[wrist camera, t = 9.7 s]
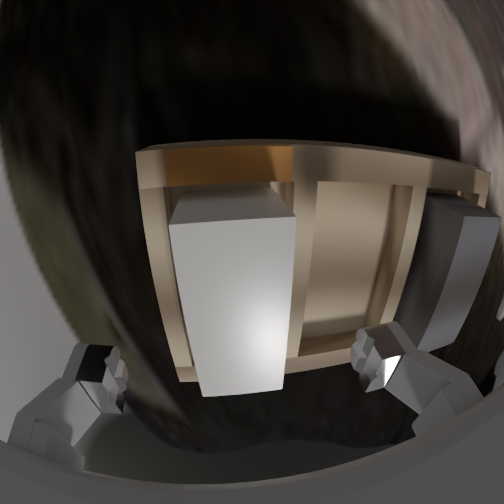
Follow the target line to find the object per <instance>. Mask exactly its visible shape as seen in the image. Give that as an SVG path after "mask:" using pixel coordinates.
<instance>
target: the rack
mask: <svg viewBox="0 0 504 504" xmlns="http://www.w3.org/2000/svg"><path fill="white" fill-rule="evenodd" d="M136 165H137V175H138V185H139V193H140V202H141V209H142V216H143V223H144V230H145V236H146V242H147V248H148V254H149V259H150V265H151V270H152V275H153V280H154V285H155V289H156V294H157V298H158V303H159V307H160V311H161V316H162V320H163V324H164V328H165V332H166V335H167V339H168V343H169V346H170V350H171V354H172V357H173V361H174V364H175V367H176V371H177V374H178V377H179V380H180V382H191V381H199V380H198V376H197V372H196V368H195V364H194V360H193V355H192V351H191V347H190V342H189V338H188V333H187V329H186V324H185V319H184V314H183V309H182V304H181V299H180V294H179V288H178V283H177V277H176V271H175V265H174V259H173V252H172V246H171V239H170V232H169V223H170V220H171V218H172V215H173V213H174V210H175V208H176V205H177V203H178V200H179V198H180V196H181V193H183V192H195V191H208V190H223V189H241V188H264V187H272V188H273V189H274V191H275V192H276V193H277V194H278V195H279V196H280V198H281V199H282V200H283V201H284V202H285V204H286V205H287V206H288V207H289V208H290V210H291V211H292V212H293V213H294V214H295V216H296V236H295V253H294V268H293V282H292V295H291V308H290V319H289V330H288V340H287V350H286V360H285V369H284V374H286V373H293V372H299V371H305V370H311V369H317V368H323V367H328V366H333V365H338V364H343V363H348V362H351V359H350V351H351V348H352V345H353V344H354V343H355V342H356V341H357V339H356V337H355V336H356V333H357V331H358V330H359V329H360V328H364V327H369V326H374V325H378V324H384V323H388V322H393V321H396V322H398V323H399V325H400V326H401V327H402V329H403V330H404V331H405V333H406V334H407V336H408V337H409V338H410V340H411V341H412V343H413V344H414V345H415V347H416V348H417V350H423V351H425V352H429V351H432V350H435V349H437V348H440V347H443V346H445V345H448V344H450V343H453V342H454V340H455V338H456V337H457V335H458V333H459V331H460V329H461V327H462V325H463V323H464V321H465V319H466V317H467V314H468V312H469V310H470V308H471V306H472V304H473V301H474V299H475V297H476V294H477V292H478V289H479V287H480V284H481V282H482V279H483V277H484V274H485V271H486V268H487V266H488V263H489V260H490V257H491V254H492V251H493V247H494V244H495V241H496V237H497V234H498V230H499V226H500V222H501V217H499V216H498V215H496V214H494V213H492V212H490V211H488V210H487V209H485V204H486V199H487V193H488V188H489V182H490V176H491V173H490V172H488V171H485V170H482V169H480V168H477V167H474V166H471V165H468V164H465V163H463V162H459V161H455V160H450V159H446V158H441V157H437V156H432V155H426V154H421V153H416V152H410V151H404V150H398V149H391V148H384V147H376V146H368V145H359V144H349V143H338V142H326V141H309V140H283V139H236V140H210V141H194V142H181V143H170V144H160V145H151V146H149V147H147V148H144V149H142V150H139V151H137V152H136Z"/></svg>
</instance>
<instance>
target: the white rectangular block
mask: <svg viewBox="0 0 504 504" xmlns="http://www.w3.org/2000/svg"><path fill="white" fill-rule="evenodd" d="M169 232H170V239H171V246H172V252H173V259H174V265H175V271H176V277H177V283H178V288H179V294H180V299H181V304H182V309H183V314H184V319H185V324H186V329H187V333H188V338H189V342H190V347H191V351H192V355H193V360H194V364H195V368H196V372H197V376H198V380H199V384H200V387H201V391H202V395H203V397H207V396H223V395H236V394H246V393H255V392H264V391H271V390H278V389H282V386H283V378H284V369H285V360H286V350H287V340H288V330H289V319H290V308H291V295H292V282H293V268H294V253H295V236H296V216H295V214H294V213H293V212H292V211H291V210H290V208H289V207H288V206H287V205H286V204H285V202H284V201H283V200H282V199H281V198H280V196H279V195H278V194H277V193H276V192H275V191H274V189H273V188H272V187H264V188H241V189H223V190H208V191H195V192H183V193H181V196H180V198H179V200H178V203H177V205H176V208H175V210H174V213H173V215H172V218H171V220H170V223H169Z"/></svg>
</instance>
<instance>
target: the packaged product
mask: <svg viewBox="0 0 504 504" xmlns="http://www.w3.org/2000/svg"><path fill="white" fill-rule="evenodd" d="M503 317H504V292H503V295H502V299H501V303H500V307H499V309H498V313H497V317H496V318H497V319H498V320H499V321H500V320H501V319H502V318H503Z"/></svg>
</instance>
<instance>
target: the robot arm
mask: <svg viewBox="0 0 504 504" xmlns="http://www.w3.org/2000/svg"><path fill="white" fill-rule="evenodd" d="M355 337H356V339H357V341H356V342H355V343H354V344H353V345H352V348H351V351H350V359H351V363H352V366H353V368H354V370H356V371H358V372H359V373H360V376H359V380H360V382H361V384H362V386H363V388H364V391H365V392H369V391H373V390H377V389H380V388H384V387H385V389H387V390H388V391H389V392H391V393H392V394H393V395H394V396H396V397H397V398H398V399H400V400H401V401H402V402H404V403H405V404H406V405H408V406H409V407H410V408H412V409H413V410H414V411H416V412H417V413H418V414H420V415H419V416H418V418H417V419H416V420H415V421H414V422H413V424H412V428H413V430H414V432H415V434H416V437H414V438H412V439H410V440H407V441H405V442H403V443H400V444H398V445H396V446H393V447H391V448H388V449H386V450H383V451H381V452H378V453H375V454H372V455H370V456H367V457H364V458H361V459H358V460H354V461H351V462H348V463H345V464H342V465H338V466H334V467H331V468H326V469H322V470H319V471H314V472H309V473H305V474H300V475H295V476H289V477H283V478H277V479H270V480H262V481H254V482H243V483H229V484H171V483H156V482H147V481H138V480H131V479H124V478H118V477H113V476H107V475H102V474H98V473H93V472H88V471H84V470H83V466H84V459H85V458H84V457H83V455H82V454H81V453H79V452H78V451H77V450H76V449H75V448H74V447H73V446H74V445H75V444H76V443H77V442H78V440H79V439H80V438H81V437H82V435H83V434H84V433H85V432H86V431H87V429H88V428H89V427H90V426H91V424H92V423H93V422H94V421H95V420H96V418H97V417H98V416H99V415H100V414H101V412H107V413H120V414H122V413H123V407H124V401H125V397H124V395H123V394H122V392H123V391H124V390H125V389H126V388H127V385H128V371H127V367H126V364H125V362H123V361H122V360H121V359H119V358H120V354H121V353H120V351H119V349H118V347H116V346H105V345H92V344H80V343H78V344H77V345H75V347H74V349H73V351H72V354H71V356H70V359H69V361H68V363H67V366H66V369H65V371H64V374H63V377H62V379H60V378H58V379H57V380H56V381H54V382H53V383H52V384H51V385H50V386H49V387H47V388H46V389H45V390H44V391H42V392H41V393H40V394H39V395H38V396H37V397H35V398H34V399H33V400H32V401H31V402H29V403H28V404H27V405H26V406H25V407H23V408H22V409H21V410H20V411H19V412H18V413H17V414H16V417H15V420H14V423H13V426H12V429H11V432H10V435H9V439H8V442H7V443H5V442H3V441H1V440H0V504H504V383H503V384H502V385H501V386H500V387H498V388H497V389H496V390H494V391H493V392H491V393H490V394H489V395H487V396H486V397H483V396H482V394H481V393H480V391H479V390H478V388H477V387H476V385H475V384H474V382H473V381H472V379H471V378H470V376H469V375H468V374H467V373H465V372H463V371H461V370H459V369H457V368H455V367H454V366H452V365H450V364H448V363H446V362H444V361H442V360H440V359H438V358H436V357H434V356H433V355H431V354H429V353H427V352H425V351H423V350H417V348H416V347H415V345H414V344H413V343H412V341H411V340H410V338H409V337H408V336H407V334H406V333H405V331H404V330H403V329H402V327H401V326H400V325H399V323H398V322H396V321H393V322H388V323H384V324H378V325H374V326H369V327H364V328H360V329H359V330H358V331H357V333H356V336H355Z"/></svg>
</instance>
